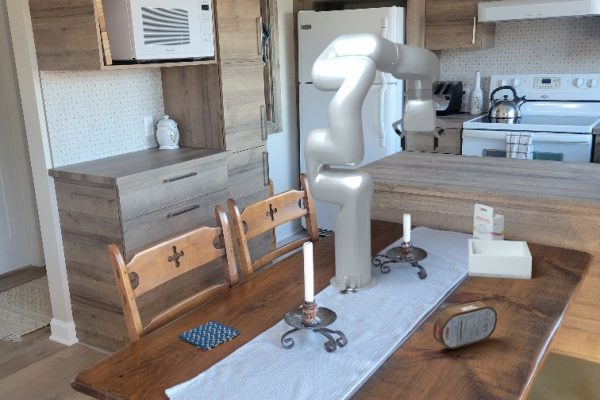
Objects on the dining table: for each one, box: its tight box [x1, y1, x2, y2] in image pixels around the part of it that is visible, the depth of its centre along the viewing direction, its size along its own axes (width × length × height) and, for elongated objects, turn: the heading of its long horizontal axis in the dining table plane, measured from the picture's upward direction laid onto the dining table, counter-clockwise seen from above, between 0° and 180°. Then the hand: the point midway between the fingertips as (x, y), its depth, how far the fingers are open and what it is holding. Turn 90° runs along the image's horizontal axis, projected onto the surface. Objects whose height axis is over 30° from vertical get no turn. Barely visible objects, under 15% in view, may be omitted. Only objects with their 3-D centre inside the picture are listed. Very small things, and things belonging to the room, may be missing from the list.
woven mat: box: [178, 320, 242, 353], centre depth 126 cm, size 10×11×2 cm
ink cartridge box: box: [472, 203, 505, 240], centre depth 176 cm, size 9×5×15 cm, turn 25°
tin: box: [432, 300, 498, 350], centre depth 119 cm, size 15×3×8 cm, turn 114°
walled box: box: [467, 238, 533, 280], centre depth 162 cm, size 15×16×6 cm
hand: (419, 149), depth 183 cm, fingers open, 9 cm apart
